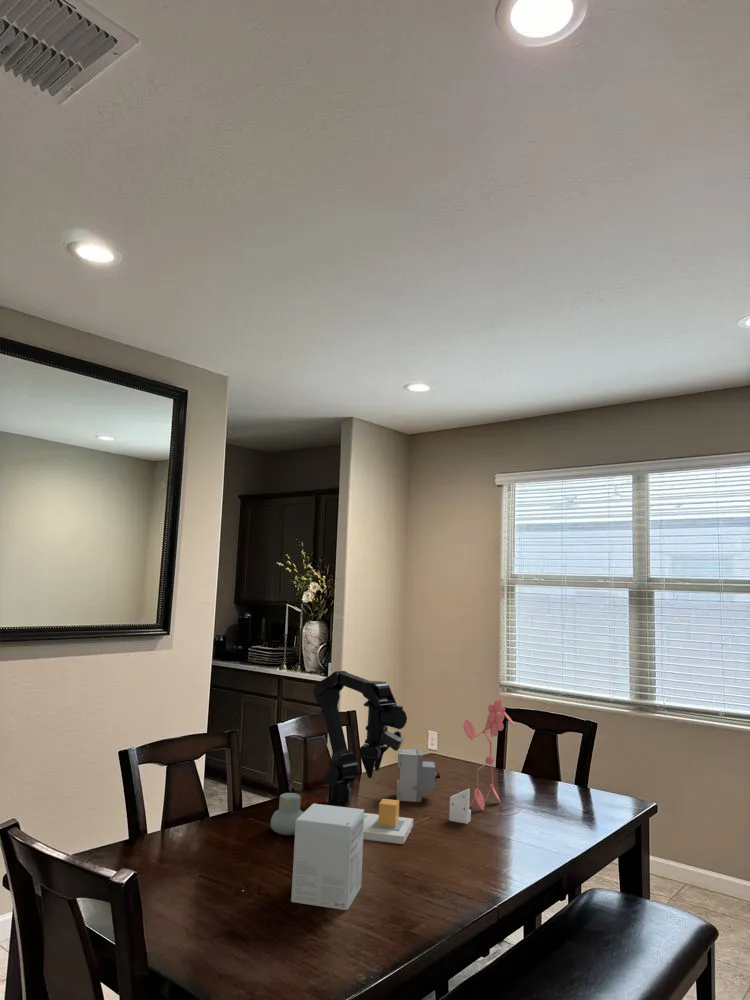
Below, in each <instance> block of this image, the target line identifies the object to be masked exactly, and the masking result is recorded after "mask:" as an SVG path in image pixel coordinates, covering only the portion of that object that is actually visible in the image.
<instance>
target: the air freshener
mask: <svg viewBox="0 0 750 1000" xmlns="http://www.w3.org/2000/svg"><path fill="white" fill-rule="evenodd" d="M278 804H279V805H278V809H277V810H275V811H274V812H273V814H272V816H271V819H270V828H271V830H272V831H273V832H275V833H277V834H278V835H282V836H295V821H296V819H297V818H298V817H299V816H301V815H302V814H303V813H304V812H305V811H303V810H301V809H300V808H301V795H299V794H298V793H296V792H295V793H294V792H285V793H282V794H280V795H279V802H278Z"/></svg>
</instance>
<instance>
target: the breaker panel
mask: <svg viewBox="0 0 750 1000" xmlns="http://www.w3.org/2000/svg"><path fill="white" fill-rule="evenodd" d="M378 822H379V813H378V814H376V813H367V812H364V830H363V840H368V841H374V842H375V841H376V842H383V843H384V842H385V843H392V844H398V845H399V844H400V845H405V843H406V840H407V838H408V836H409V834H410V833H411V830H412V828H413V827H414V818H410V817H405V816H404V817H403V816H399V822H398V824H397V826H396V827H387V826H379V825H378Z"/></svg>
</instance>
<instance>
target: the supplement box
mask: <svg viewBox="0 0 750 1000" xmlns="http://www.w3.org/2000/svg"><path fill="white" fill-rule="evenodd" d="M303 812H304V813H303V814H302V815H301V816H299V817H298V818H297V819H296V821H295V835H294V846H293V861H292V862H293V863H292V865H293V867H292V877H291V878H292V881H291V882H292V883H291V897H290V901H291V902H290V903H296V904H297V903H298V904H304V905H310V906H316V907H323V908H327V909H330V908H331V909H336V910H341V911H348V909H349V908H350V907H351V904H353V902H354V900H355V898H356V896H357V895H358V894H359V892H360V890H361V888H362V878H363V877H362V874H363V873H362V872H363V871H362V870H363V852H364V851H363V848H364V839H363V830H364V813H365V809H362V808H355V807H348V806H347V807H346V806H339V805H330V804H319V803H312V804H311V805H310V806H309V807H308V808H307V809H306V810H305V811H303Z"/></svg>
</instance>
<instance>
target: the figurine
mask: <svg viewBox="0 0 750 1000" xmlns="http://www.w3.org/2000/svg"><path fill="white" fill-rule="evenodd" d="M488 712H489V714H488V715H487V717H486V719H487V720H486V723H485V727H484V729H483V730H481V731H480V732H479V733H477V734H476V728H475V726H474V724H473V722H471V721H470V720H469V719H468V718H467V719H465V721H464V722H463V731H464V732H465V735H466V736H467V737H468V738H469V739H470V740H471V741H473V740H474V739H475V738H476V737H478V736H479V735H481V734H484V735H485V737H486V738H487V741H488V742H489V755H488V756H486V757H485V759H484V760H485V764H483V765H482V766H480V767H479V768H477V769H476V779H477V780H476V781H477V782H476V784H477V785H476V786H477V788H475V790H474V792H473V795H474V797H473V799H472V801H470V803H469V808H471V807H472V806H473V804H474V801H475V802H476V804H477V806H478V807H479V809H480V811H482V812H483V811H484V810H485V807H486V806H485V802H486V801H487V800H488V798H489V796H490V794H491V791H492V792H493V794H494V796H495V798H496V800H497V801H498V802H499V803H500V804H501V803H502V802H501V800H500V797H499V795H498V793H497V791H496V790H495V786H494V774H493V773H494V771H493V764H494V762H495V761H494V758H493V757H492V741H491V739H490V737H491V738H494V737H497V736H498V734H499V731H500V732H501V731H503V730H504V728H505V727H504V719H505V718H506V719H507V720H508V722H510V724H512V725H513V726H514V727H516V724H515V722H514V721H513V720H512V718H511V717H510V716H509V715H508V714H507V712H506V705H503V706H502V700H501V698H498V699H495V701H494V704H493V703H489V705H488ZM487 733H490V737H489V736H488V735H487ZM486 765H488V766H489V765H491V767H490V768H491V769H490V770H491V783H490V784H489V786H490V789H489V790H488V792H487V794H486V796H485V798H484V795H483V793H482V792H481V790H480V789H479V770H481V769H482V768H483V767H485V766H486ZM518 807H519V809H520V806H518ZM519 812H520V810H518V811H517V812H514V813H512V814H507V815H506V814H505V815H504V817H507V816H512V815H513V816H514V815H515V814H517V815H518V814H519Z"/></svg>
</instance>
